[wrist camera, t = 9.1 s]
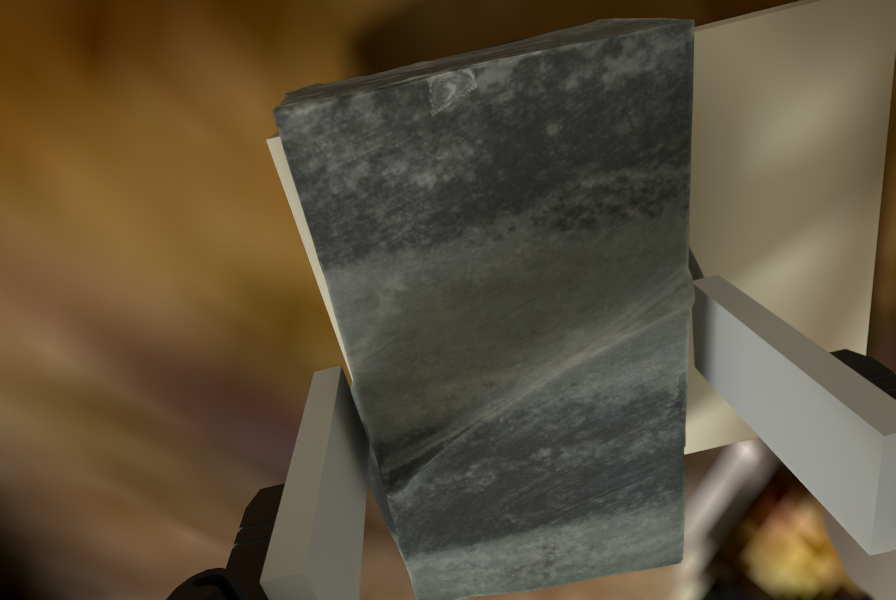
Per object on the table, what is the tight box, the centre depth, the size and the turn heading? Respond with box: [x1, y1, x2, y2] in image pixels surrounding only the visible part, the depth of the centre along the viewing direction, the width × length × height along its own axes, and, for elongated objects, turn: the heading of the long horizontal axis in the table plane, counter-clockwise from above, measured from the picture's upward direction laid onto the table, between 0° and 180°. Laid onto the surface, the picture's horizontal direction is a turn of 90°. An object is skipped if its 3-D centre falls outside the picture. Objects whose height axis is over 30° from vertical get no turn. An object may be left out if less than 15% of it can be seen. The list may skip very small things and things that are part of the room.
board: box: [266, 0, 896, 454], centre depth 18 cm, size 17×14×2 cm
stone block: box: [273, 18, 695, 600], centre depth 15 cm, size 9×14×5 cm, turn 10°
